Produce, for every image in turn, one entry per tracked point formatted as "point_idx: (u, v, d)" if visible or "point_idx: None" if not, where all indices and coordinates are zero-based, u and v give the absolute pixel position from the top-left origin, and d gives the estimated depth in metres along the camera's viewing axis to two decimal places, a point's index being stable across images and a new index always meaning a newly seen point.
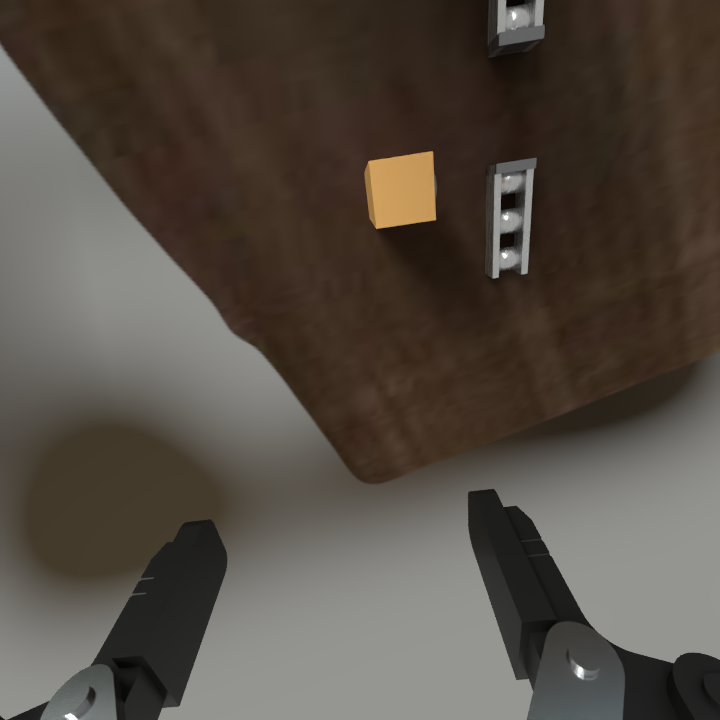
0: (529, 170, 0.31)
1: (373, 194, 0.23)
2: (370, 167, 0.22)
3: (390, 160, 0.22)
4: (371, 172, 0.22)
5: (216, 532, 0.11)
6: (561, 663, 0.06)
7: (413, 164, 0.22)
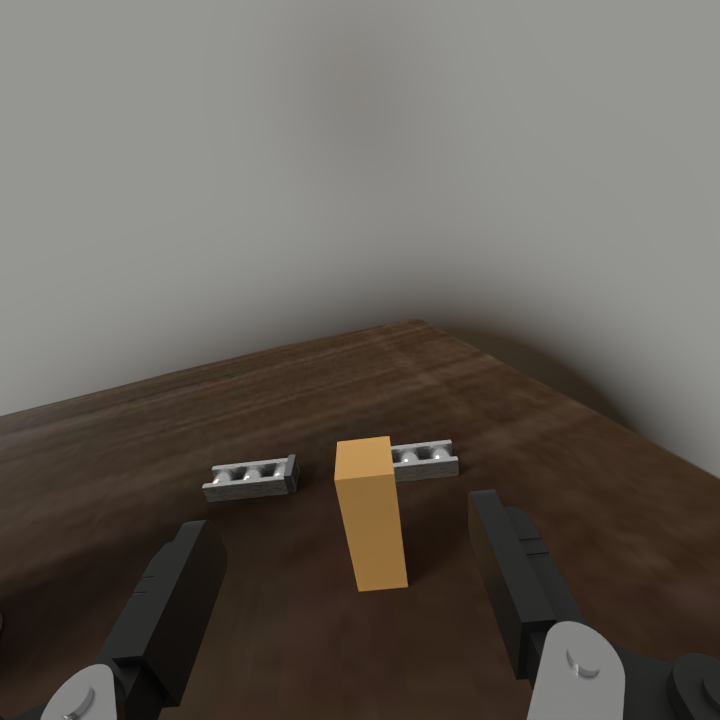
0: None
1: (362, 476, 0.23)
2: (339, 478, 0.23)
3: (337, 465, 0.25)
4: (343, 477, 0.23)
5: (216, 532, 0.11)
6: (561, 663, 0.06)
7: (344, 452, 0.26)
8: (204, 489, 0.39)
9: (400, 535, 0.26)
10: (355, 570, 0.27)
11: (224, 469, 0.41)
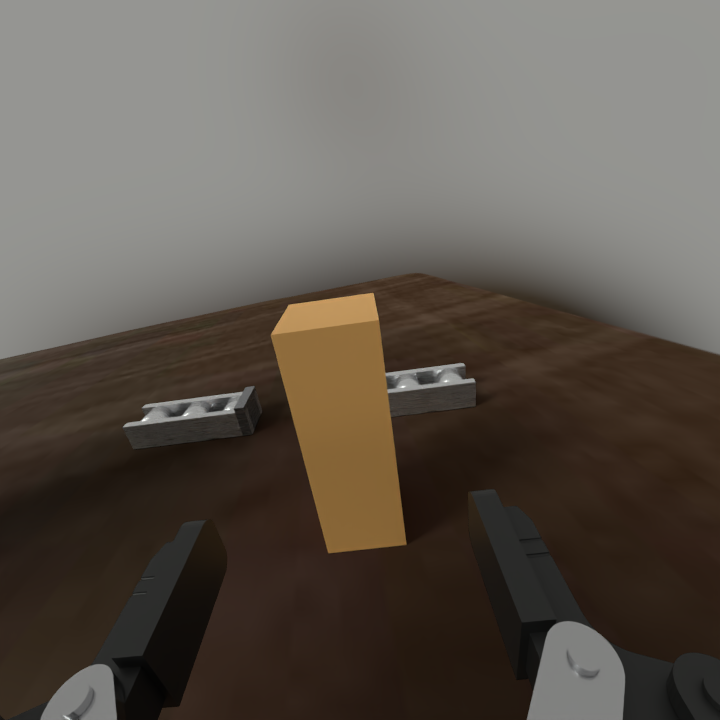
0: None
1: (321, 327, 0.13)
2: (280, 333, 0.13)
3: (281, 322, 0.14)
4: (288, 331, 0.13)
5: (216, 532, 0.11)
6: (561, 663, 0.06)
7: (297, 310, 0.15)
8: (126, 429, 0.28)
9: (392, 450, 0.15)
10: (320, 516, 0.17)
11: (158, 407, 0.31)
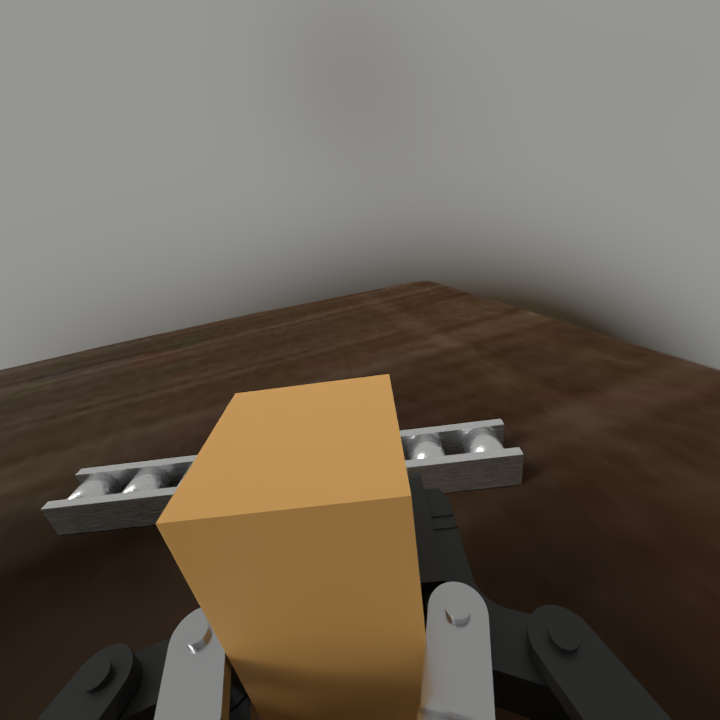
0: None
1: (275, 507, 0.05)
2: (179, 518, 0.06)
3: (199, 463, 0.07)
4: (197, 513, 0.06)
5: None
6: (442, 622, 0.07)
7: (242, 418, 0.08)
8: (45, 512, 0.21)
9: None
10: None
11: (97, 474, 0.23)
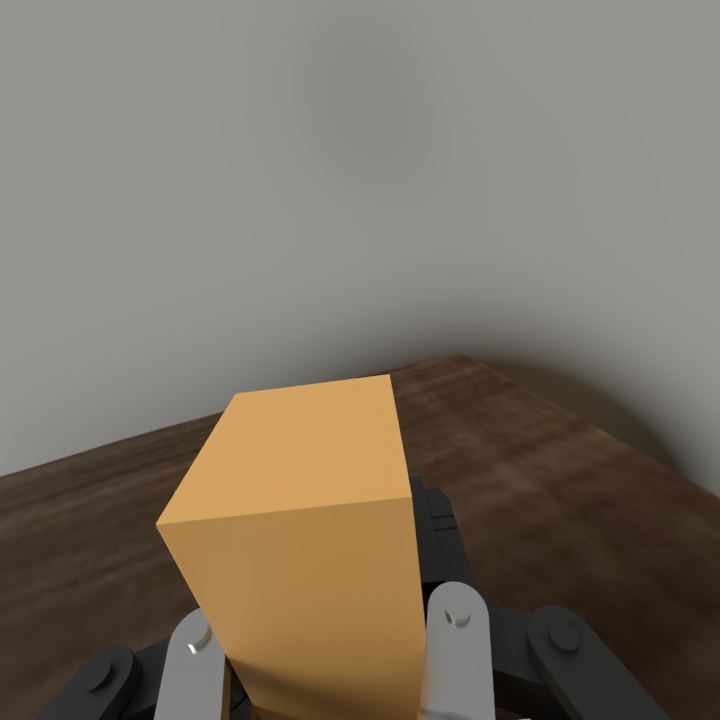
0: None
1: (275, 508, 0.05)
2: (179, 518, 0.06)
3: (199, 464, 0.07)
4: (197, 514, 0.06)
5: None
6: (442, 622, 0.07)
7: (243, 419, 0.08)
8: None
9: None
10: None
11: None
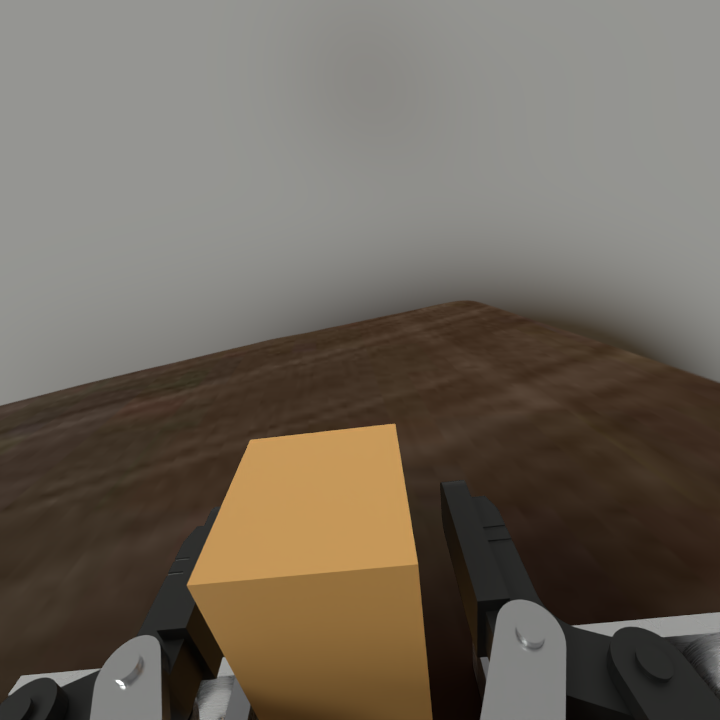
0: None
1: (295, 572, 0.06)
2: (208, 580, 0.06)
3: (222, 519, 0.07)
4: (224, 576, 0.06)
5: None
6: (511, 640, 0.07)
7: (258, 470, 0.09)
8: None
9: None
10: None
11: None
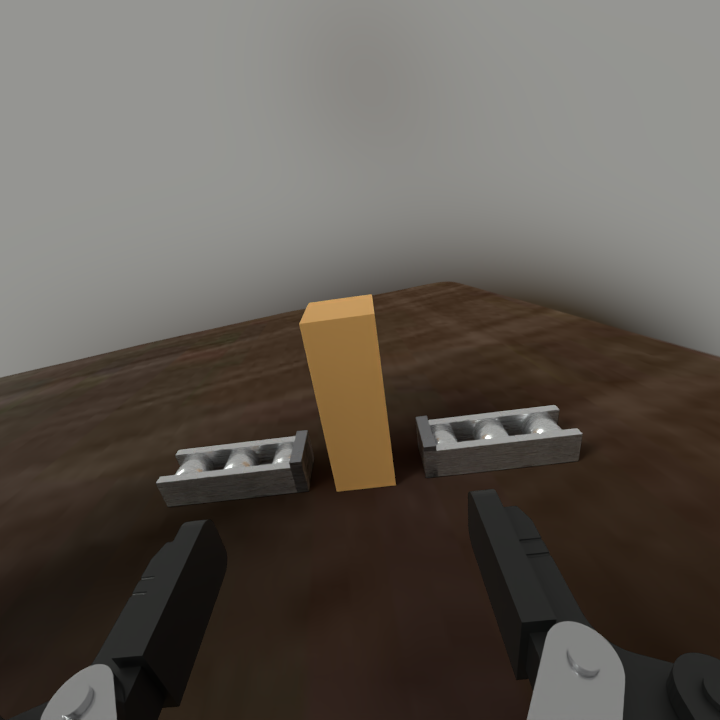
0: (429, 423, 0.25)
1: (334, 318, 0.19)
2: (306, 322, 0.19)
3: (305, 315, 0.20)
4: (311, 321, 0.19)
5: (216, 532, 0.11)
6: (561, 663, 0.06)
7: (315, 307, 0.21)
8: (159, 485, 0.24)
9: (384, 409, 0.21)
10: (331, 461, 0.23)
11: (195, 454, 0.26)
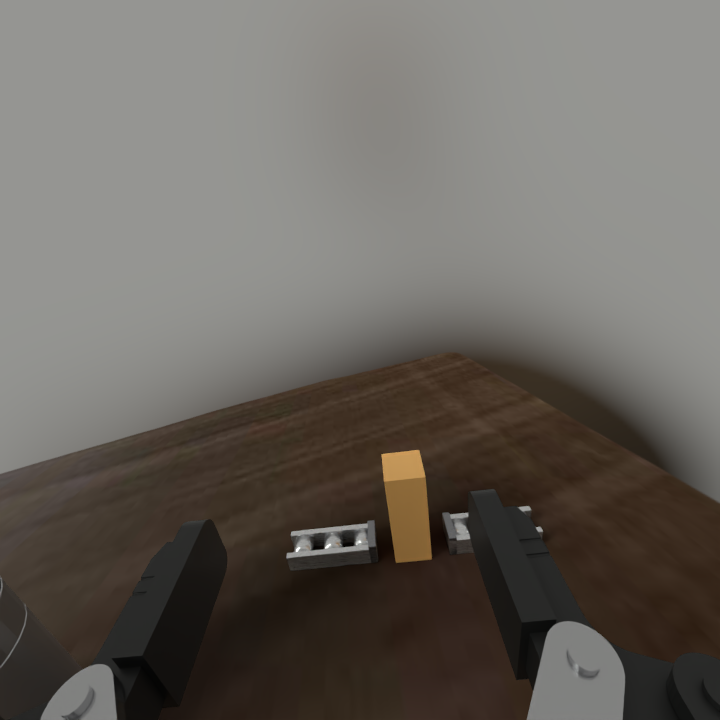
0: (450, 517, 0.41)
1: (403, 479, 0.34)
2: (387, 480, 0.34)
3: (384, 471, 0.35)
4: (390, 480, 0.34)
5: (216, 532, 0.11)
6: (561, 663, 0.06)
7: (387, 461, 0.37)
8: (288, 559, 0.39)
9: (428, 520, 0.36)
10: (394, 546, 0.38)
11: (303, 535, 0.42)
